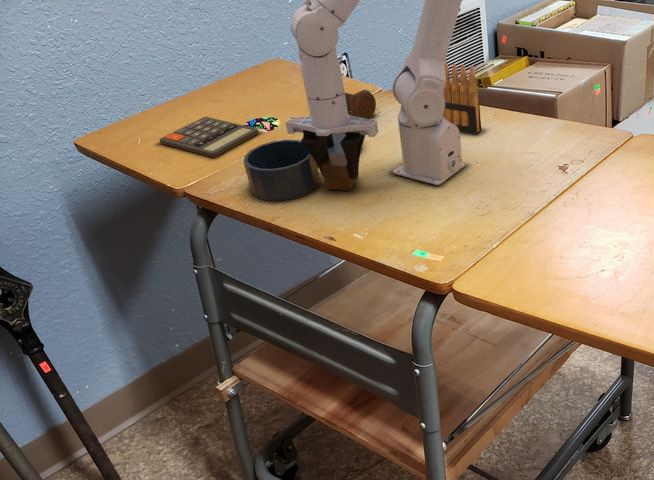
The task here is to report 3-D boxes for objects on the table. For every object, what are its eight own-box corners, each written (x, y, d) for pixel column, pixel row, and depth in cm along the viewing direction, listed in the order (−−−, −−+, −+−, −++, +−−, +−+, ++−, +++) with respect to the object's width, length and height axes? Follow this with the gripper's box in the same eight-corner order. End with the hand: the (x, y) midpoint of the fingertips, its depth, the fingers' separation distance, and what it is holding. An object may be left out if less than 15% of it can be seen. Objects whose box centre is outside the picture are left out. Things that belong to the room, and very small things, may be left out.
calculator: (204, 115, 141) (258, 128, 135) (205, 120, 142) (259, 132, 135) (158, 138, 134) (212, 152, 127) (159, 143, 135) (214, 157, 128)
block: (358, 178, 117) (354, 154, 114) (349, 190, 114) (345, 166, 111) (335, 176, 118) (330, 153, 115) (325, 188, 115) (320, 164, 112)
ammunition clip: (481, 130, 129) (479, 64, 122) (477, 134, 128) (474, 67, 121) (431, 122, 134) (426, 57, 126) (426, 126, 133) (420, 60, 125)
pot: (333, 177, 119) (327, 147, 116) (286, 207, 112) (278, 176, 109) (285, 164, 124) (278, 134, 121) (237, 191, 117) (229, 161, 114)
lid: (376, 144, 128) (372, 121, 125) (331, 172, 121) (326, 148, 118) (325, 132, 134) (321, 109, 131) (280, 158, 126) (274, 134, 123)
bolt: (321, 111, 146) (372, 124, 138) (302, 106, 142) (354, 119, 134) (327, 82, 145) (378, 93, 137) (308, 76, 141) (360, 88, 133)
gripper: (270, 102, 105) (289, 184, 114) (361, 104, 102) (374, 189, 111) (289, 84, 110) (307, 164, 119) (377, 86, 107) (388, 168, 116)
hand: (340, 175), depth 115 cm, fingers closed on block, 4 cm apart
